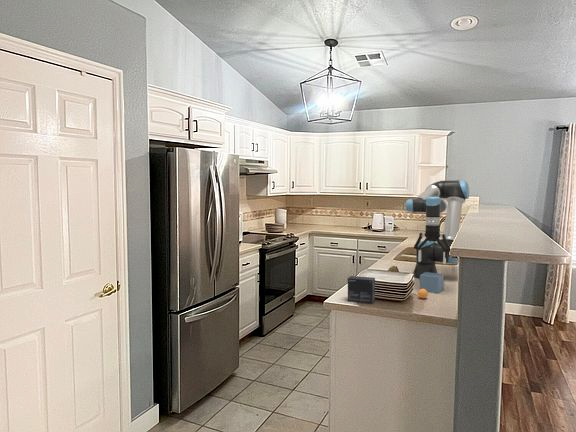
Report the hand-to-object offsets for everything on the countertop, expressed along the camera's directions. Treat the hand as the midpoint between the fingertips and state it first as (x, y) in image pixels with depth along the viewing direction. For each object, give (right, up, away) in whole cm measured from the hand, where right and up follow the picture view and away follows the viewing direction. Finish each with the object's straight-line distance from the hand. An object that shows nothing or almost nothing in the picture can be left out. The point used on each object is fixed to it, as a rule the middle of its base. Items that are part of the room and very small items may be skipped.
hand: (431, 262), depth 234 cm
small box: (-42, -18, -17) cm, 49 cm away
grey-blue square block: (0, -16, +1) cm, 16 cm away
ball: (-10, -15, -15) cm, 23 cm away
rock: (-17, -14, +24) cm, 33 cm away
